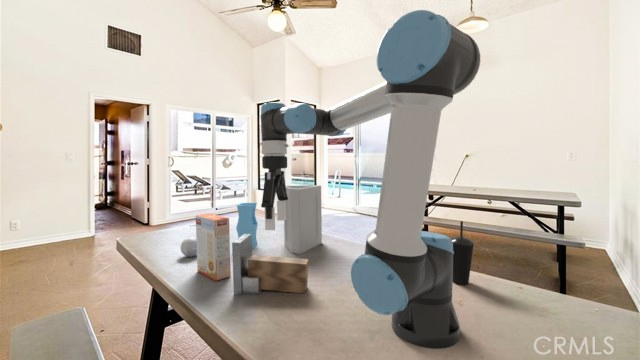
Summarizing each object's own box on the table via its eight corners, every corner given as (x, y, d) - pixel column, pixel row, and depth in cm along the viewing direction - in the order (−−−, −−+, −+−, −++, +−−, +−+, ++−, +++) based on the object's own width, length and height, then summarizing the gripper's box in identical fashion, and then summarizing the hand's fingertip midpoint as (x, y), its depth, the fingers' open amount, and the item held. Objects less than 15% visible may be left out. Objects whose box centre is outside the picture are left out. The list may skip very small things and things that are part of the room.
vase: (254, 248, 134) (252, 205, 132) (237, 248, 134) (235, 205, 132) (258, 243, 141) (256, 202, 140) (241, 243, 142) (240, 202, 140)
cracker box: (232, 276, 101) (230, 217, 100) (215, 282, 97) (213, 220, 95) (212, 267, 111) (210, 212, 109) (197, 271, 106) (194, 214, 105)
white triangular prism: (297, 238, 149) (296, 184, 147) (322, 242, 141) (321, 185, 139) (273, 248, 133) (271, 187, 131) (300, 254, 125) (298, 189, 123)
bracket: (257, 295, 87) (256, 243, 86) (233, 294, 88) (232, 242, 86) (267, 281, 97) (266, 234, 96) (245, 281, 97) (244, 234, 96)
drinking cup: (472, 289, 89) (474, 225, 88) (445, 283, 93) (446, 222, 92) (474, 280, 96) (476, 220, 95) (449, 275, 100) (450, 218, 99)
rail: (307, 286, 92) (308, 259, 92) (305, 293, 88) (306, 264, 87) (252, 281, 94) (253, 254, 94) (247, 288, 90) (248, 259, 89)
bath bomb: (203, 256, 123) (202, 238, 122) (182, 260, 118) (181, 241, 118) (199, 252, 129) (198, 234, 129) (179, 255, 125) (178, 237, 124)
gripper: (276, 154, 75) (278, 235, 77) (294, 156, 100) (296, 216, 102) (248, 155, 76) (250, 234, 78) (273, 156, 101) (275, 216, 102)
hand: (276, 224), depth 90 cm, fingers open, 13 cm apart
